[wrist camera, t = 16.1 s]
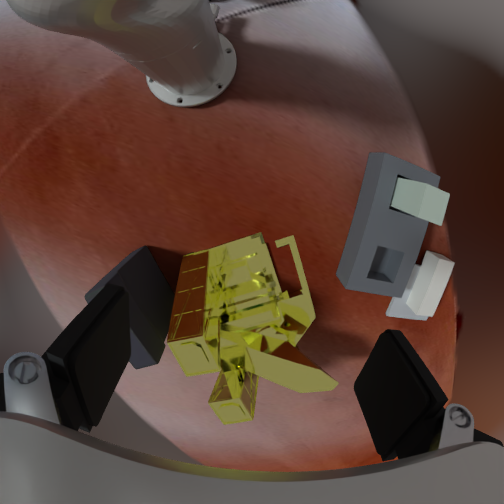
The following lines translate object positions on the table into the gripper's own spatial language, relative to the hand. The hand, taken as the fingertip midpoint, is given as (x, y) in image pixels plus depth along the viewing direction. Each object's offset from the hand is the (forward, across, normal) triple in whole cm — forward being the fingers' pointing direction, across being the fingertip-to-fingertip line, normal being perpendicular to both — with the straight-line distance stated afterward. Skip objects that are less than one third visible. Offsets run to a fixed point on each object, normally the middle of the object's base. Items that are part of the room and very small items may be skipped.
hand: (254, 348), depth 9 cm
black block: (+30, +12, +14) cm, 36 cm away
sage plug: (+28, -20, -6) cm, 35 cm away
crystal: (+30, -4, +16) cm, 34 cm away
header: (+30, -20, -1) cm, 36 cm away
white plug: (+27, -32, +11) cm, 43 cm away
